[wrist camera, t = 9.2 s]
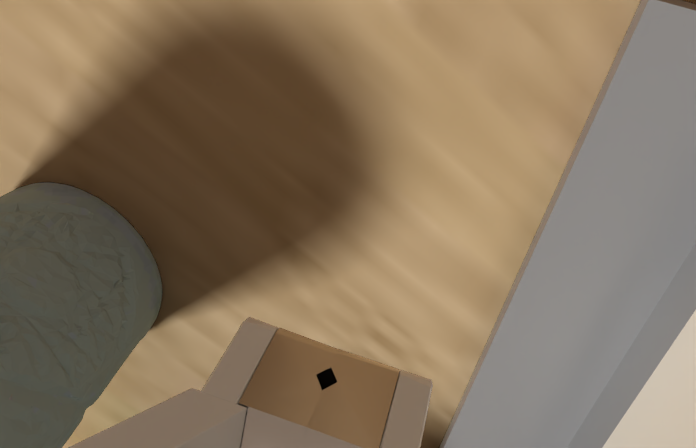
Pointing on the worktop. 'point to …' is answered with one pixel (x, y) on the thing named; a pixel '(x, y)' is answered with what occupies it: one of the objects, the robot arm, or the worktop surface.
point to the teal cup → (66, 308)
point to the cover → (664, 401)
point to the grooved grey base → (601, 259)
